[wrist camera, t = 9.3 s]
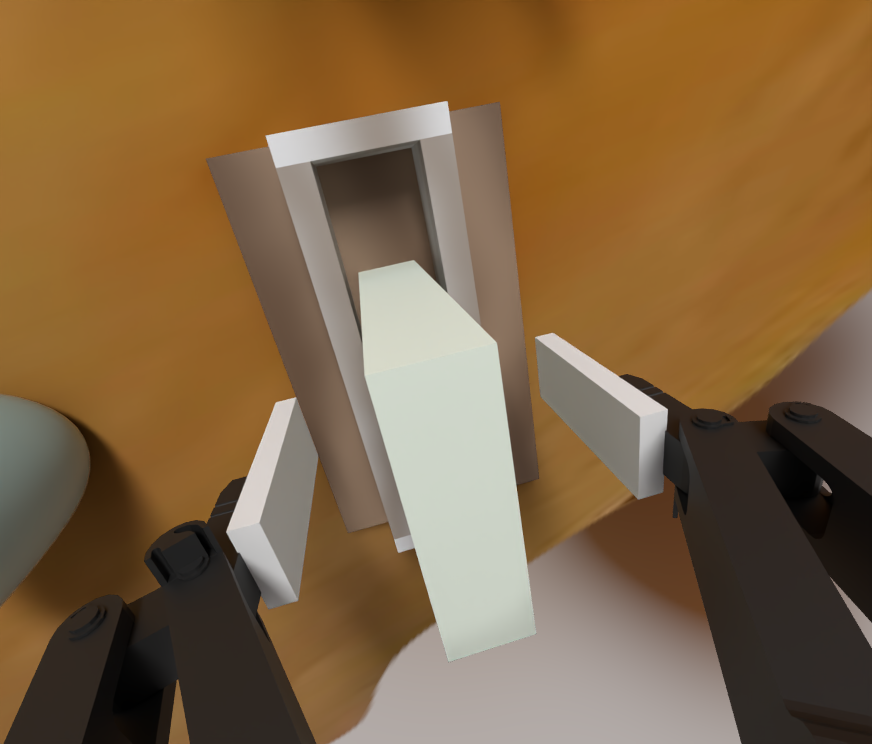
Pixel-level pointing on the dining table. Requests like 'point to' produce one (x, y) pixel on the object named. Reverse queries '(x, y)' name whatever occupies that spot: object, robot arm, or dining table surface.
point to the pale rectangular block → (448, 455)
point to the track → (374, 248)
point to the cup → (36, 484)
